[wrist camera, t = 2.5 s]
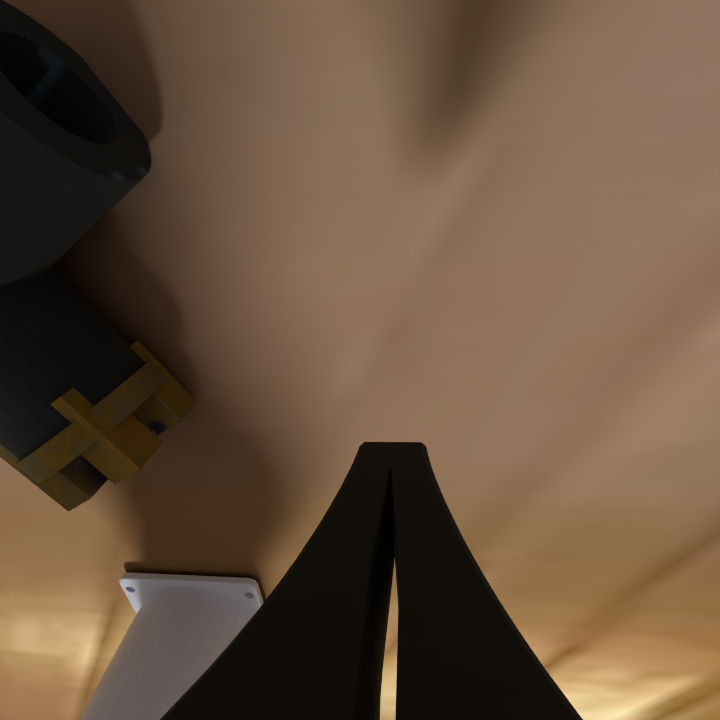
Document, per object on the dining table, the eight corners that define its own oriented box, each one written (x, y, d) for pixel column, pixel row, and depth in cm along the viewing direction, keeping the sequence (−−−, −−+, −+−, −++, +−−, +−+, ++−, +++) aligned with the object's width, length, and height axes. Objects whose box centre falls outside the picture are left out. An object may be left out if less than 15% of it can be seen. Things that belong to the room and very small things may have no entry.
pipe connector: (257, 407, 11) (-26, 572, 16) (303, 329, 16) (72, 476, 21) (-166, -63, 7) (-360, 345, 12) (59, 17, 12) (-149, 289, 17)
